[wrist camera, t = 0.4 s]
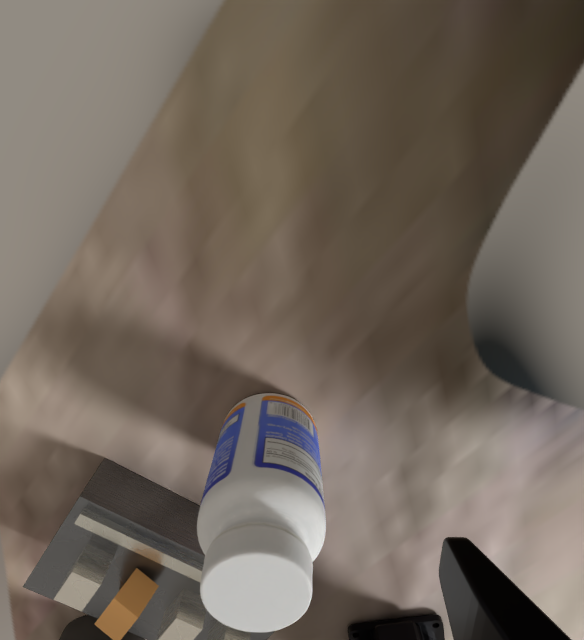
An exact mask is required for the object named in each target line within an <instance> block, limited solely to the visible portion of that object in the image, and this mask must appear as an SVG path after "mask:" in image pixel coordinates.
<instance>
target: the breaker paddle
mask: <svg viewBox="0 0 584 640" xmlns="http://www.w3.org/2000/svg"><path fill="white" fill-rule="evenodd" d="M158 587H159V586H158V585H157V584H156V583H155V582H153V581H152V580H151V579H150V578H149V577H147V576H146V575H145V574H144V573H142V572H141V571H140V570H139V569H138V568H136V569H135V571H134V572H133V573H132V575H131V576H130V577H129V579H128V580H127V581H126V583H125V584H124V585H123V587H122V588H121V589H120V591H119V592H118V593H117V595H116V596H115V597H114V599H113V600H112V601H111V603H110V604H109V605H108V607H107V608H106V609H105V611H104V612H103V613H102V615H101V616H100V617H99V619H98V620H97V621H96V623H95V625H96V626H97V627H98V628H99V629H101V630H102V631H103V632H104V633H105V634H107V635H108V636H109V637H110V638H111V639H113V640H121V639H122V638H123V636H124V635H125V634H126V633H127V631H128V630H129V629H130V628H131V626H132V625H133V624H134V623H135V621H136V620H137V619H138V618H139V616H140V615H141V613H142V611H143V610H144V608H145V607H146V605H147V604H148V602H149V601H150V599H151V598H152V596H153V594H154V593H155V591H156V590H157V588H158Z"/></svg>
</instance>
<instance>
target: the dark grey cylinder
mask: <svg viewBox="0 0 584 640" xmlns="http://www.w3.org/2000/svg"><path fill="white" fill-rule="evenodd" d="M97 620H98V619H97V618H95V617H93V616H90V615H87V616H83V617H79V618H77V619H75V620H73V621H72V622H70V623H69V624H68V625H67V626H66V628H65V630H64V631H63V633H62V635H61V637H60V639H59V640H113V639H111V638H110V637H109V636H108V635H107V634H105V633H104V632H103V631H102V630H101V629H99V628H98V627H97V626H96V625H95V623H96V621H97ZM121 640H145V639H144V638H142V637H140V636H137V635H135V634H133V633H130V632H128V631H127V633H126V634H125V635H124V636H123V638H122V639H121Z"/></svg>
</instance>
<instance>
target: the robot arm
mask: <svg viewBox="0 0 584 640" xmlns="http://www.w3.org/2000/svg"><path fill="white" fill-rule="evenodd" d="M439 578H440V584H441V588H442V592H443V597H444V601H445V605H446V609H447V613H448V617H449V622H450V626H451V630H452V634H453V638H454V640H571V639H570V638H569V637H568V636H567V635H566V634H565V633H564V632H563V631H562V630H561V629H560V628H559V627H558V626H557V625H556V624H555V623H554V622H553V621H552V620H551V619H550V618H549V617H548V616H547V615H546V614H545V613H544V612H543V611H542V610H541V609H540V608H539V607H537V606H536V605H535V604H534V603H533V602H532V601H531V600H530V599H529V598H528V597H527V596H526V595H525V594H524V593H523V592H522V591H521V590H520V589H519V588H518V587H517V586H516V585H515V584H514V583H513V582H512V581H511V580H510V579H509V578H508V577H507V576H506V575H505V574H504V573H503V572H502V571H501V570H500V569H499V568H498V567H497V566H496V565H495V564H494V563H493V562H492V561H491V560H489V559H488V558H487V557H486V556H485V555H484V554H483V553H482V552H481V551H480V550H479V549H478V548H477V547H476V546H475V545H474V544H473V543H472V542H471V541H470V540H469V539H467V538H464V537H447V538H445V540H444V542H443V546H442V552H441V559H440V565H439ZM348 636H349V640H445V638H444V628H443V622H442V619H441V617H440V616H439V615H425V616H417V617H409V618H401V619H393V620H385V621H377V622H369V623H361V624H353V625H351V626H349V627H348Z"/></svg>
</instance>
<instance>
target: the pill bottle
mask: <svg viewBox="0 0 584 640" xmlns="http://www.w3.org/2000/svg"><path fill="white" fill-rule="evenodd" d="M325 533H326V517H325V505H324V494H323V484H322V474H321V464H320V453H319V444H318V434H317V429H316V425H315V422H314V419H313V417H312V416H311V414H310V412H309V411H308V410H307V409H306V408H305V407H304V406H303V405H302V404H301V403H300V402H298V401H296V400H295V399H293V398H291V397H288V396H285V395H281V394H275V393H263V394H257V395H253V396H250V397H247V398H245V399H243V400H242V401H240V402H239V403H237V404H236V405H235V406H234V407H233V408H232V409H231V410H230V412H229V413H228V415H227V416H226V418H225V420H224V423H223V425H222V428H221V431H220V435H219V439H218V443H217V446H216V450H215V454H214V457H213V461H212V464H211V468H210V472H209V475H208V479H207V483H206V486H205V490H204V493H203V497H202V501H201V505H200V509H199V513H198V520H197V535H198V541H199V544H200V547H201V549H202V551H203V553H204V554H205V559H204V565H203V571H202V576H201V582H200V596H201V599H202V602H203V604H204V606H205V608H206V609H207V611H208V612H209V613H210V614H211V615H212V616H213V617H214V618H215V619H217V620H218V621H220V622H221V623H223V624H224V625H226V626H229V627H231V628H234V629H237V630H241V631H246V632H271V631H276V630H280V629H282V628H285V627H287V626H289V625H291V624H293V623H294V622H296V621H297V620H298V619H299V618H300V617H301V616H302V615H303V614H304V613H305V612H306V611H307V609H308V607H309V605H310V602H311V598H312V573H313V563H312V562H313V561H314V560H315V559H316V557H317V556H318V554H319V553H320V551H321V549H322V546H323V543H324V539H325Z"/></svg>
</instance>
